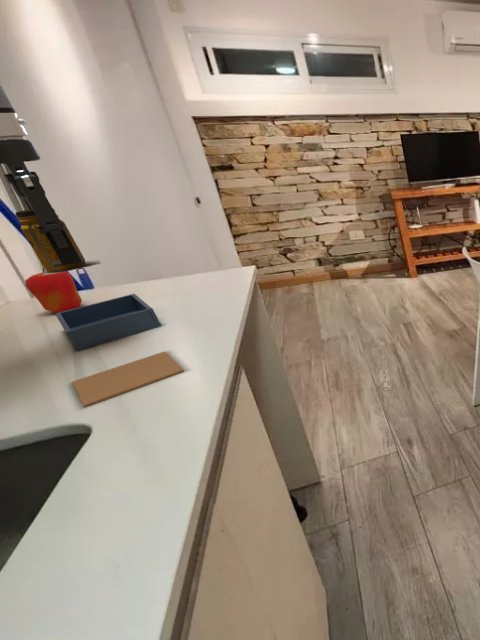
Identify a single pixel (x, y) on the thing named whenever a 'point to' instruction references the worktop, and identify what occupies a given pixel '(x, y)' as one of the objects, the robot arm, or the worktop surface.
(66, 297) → the apple
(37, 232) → the condiment
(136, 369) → the mat
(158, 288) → the worktop surface
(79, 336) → the bin
